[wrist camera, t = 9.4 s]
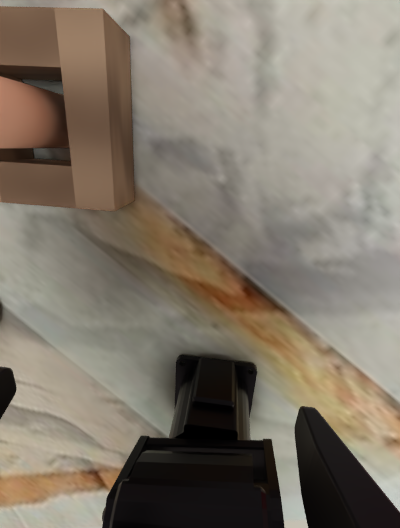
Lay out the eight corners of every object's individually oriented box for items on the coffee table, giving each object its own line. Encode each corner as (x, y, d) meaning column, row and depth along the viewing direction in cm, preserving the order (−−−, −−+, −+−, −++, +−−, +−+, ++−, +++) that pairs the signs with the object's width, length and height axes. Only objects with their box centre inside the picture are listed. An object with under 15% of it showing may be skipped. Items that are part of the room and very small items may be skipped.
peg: (87, 149, 18) (-32, 151, 10) (43, 146, 19) (-109, 146, 10) (83, 95, 17) (-56, 49, 9) (35, 93, 18) (-142, 46, 9)
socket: (134, 200, 19) (114, 211, 16) (8, 190, 20) (-35, 199, 17) (129, 36, 16) (102, 8, 13) (-23, 31, 17) (-84, 4, 13)
